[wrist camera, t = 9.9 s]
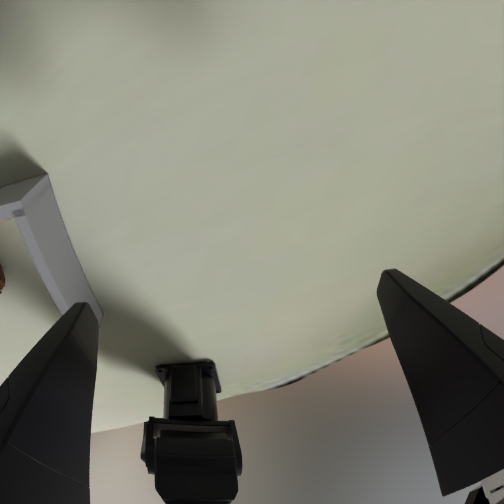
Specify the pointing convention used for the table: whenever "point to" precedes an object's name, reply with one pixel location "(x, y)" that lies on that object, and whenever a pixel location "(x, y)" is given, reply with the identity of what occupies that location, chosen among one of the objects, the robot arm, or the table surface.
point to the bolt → (2, 279)
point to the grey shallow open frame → (47, 241)
